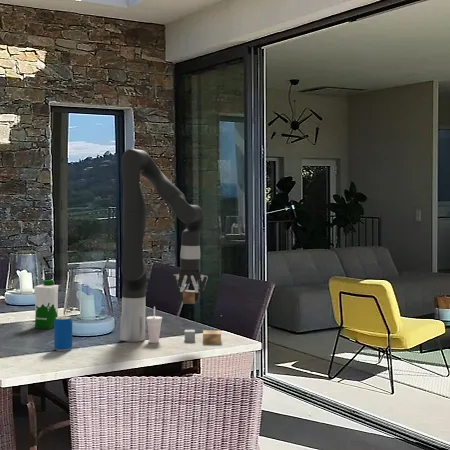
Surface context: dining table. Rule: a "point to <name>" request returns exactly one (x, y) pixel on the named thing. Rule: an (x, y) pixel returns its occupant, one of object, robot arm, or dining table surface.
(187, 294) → the walnut cube
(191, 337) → the slate-grey cube
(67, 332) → the beverage can
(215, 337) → the teak block
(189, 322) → the dining table surface
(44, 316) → the milk carton
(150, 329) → the smoothie
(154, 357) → the dining table surface
